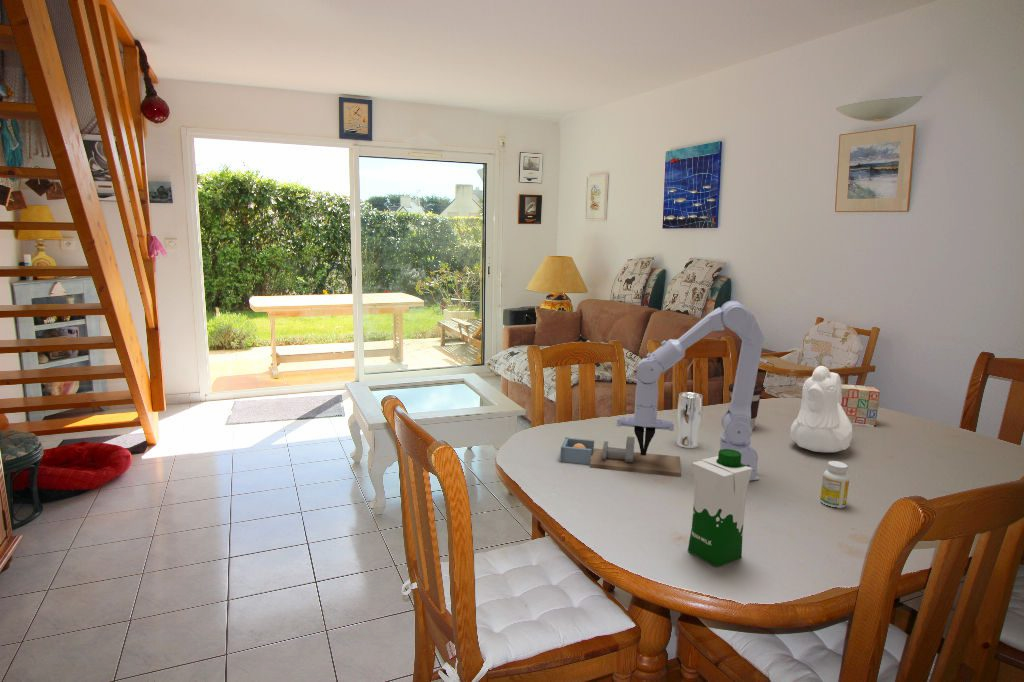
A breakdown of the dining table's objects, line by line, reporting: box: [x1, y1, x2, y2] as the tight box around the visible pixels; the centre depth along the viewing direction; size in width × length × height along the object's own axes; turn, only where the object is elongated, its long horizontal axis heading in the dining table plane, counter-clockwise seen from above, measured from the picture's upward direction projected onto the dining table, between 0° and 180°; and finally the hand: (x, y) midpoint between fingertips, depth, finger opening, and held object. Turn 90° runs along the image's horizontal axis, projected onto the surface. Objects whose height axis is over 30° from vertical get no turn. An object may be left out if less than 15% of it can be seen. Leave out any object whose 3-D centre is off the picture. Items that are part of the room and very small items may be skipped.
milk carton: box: [687, 449, 752, 568], centre depth 116 cm, size 9×9×20 cm
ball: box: [573, 443, 586, 448], centre depth 167 cm, size 4×4×4 cm
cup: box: [559, 436, 595, 466], centre depth 167 cm, size 8×8×4 cm
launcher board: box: [589, 447, 682, 477], centre depth 163 cm, size 23×12×1 cm, turn 77°
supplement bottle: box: [819, 460, 850, 509], centre depth 140 cm, size 5×5×10 cm
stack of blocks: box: [841, 383, 881, 425], centre depth 204 cm, size 21×6×12 cm, turn 75°
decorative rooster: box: [789, 365, 853, 453], centre depth 177 cm, size 25×16×25 cm, turn 127°
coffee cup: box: [728, 380, 763, 431], centre depth 195 cm, size 10×10×15 cm
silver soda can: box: [676, 391, 704, 449], centre depth 178 cm, size 7×7×15 cm
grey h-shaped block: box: [602, 436, 636, 463], centre depth 164 cm, size 8×6×5 cm
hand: (643, 454), depth 163 cm, fingers closed
